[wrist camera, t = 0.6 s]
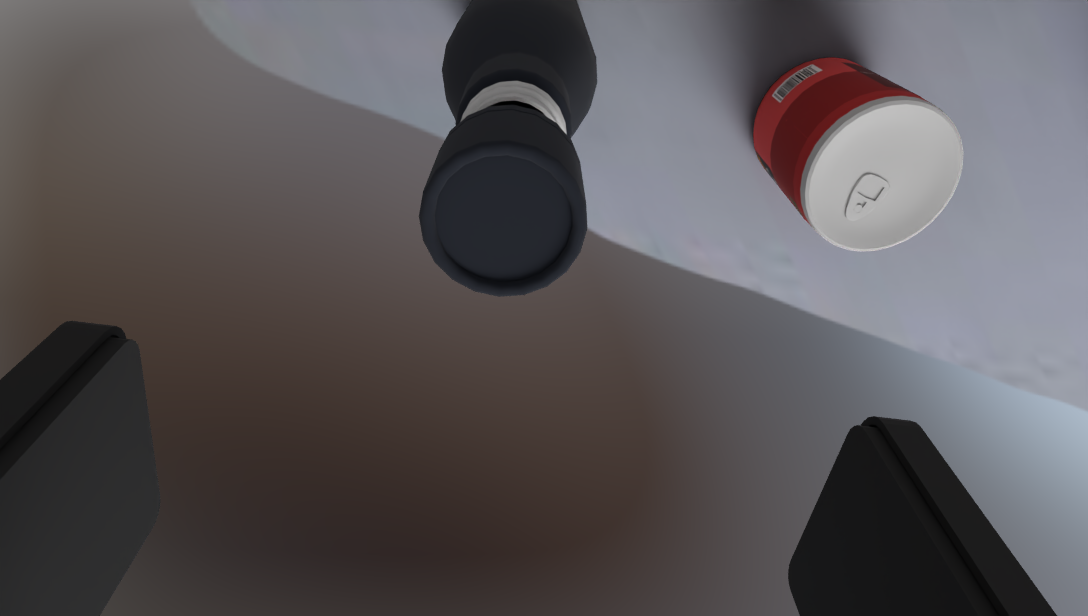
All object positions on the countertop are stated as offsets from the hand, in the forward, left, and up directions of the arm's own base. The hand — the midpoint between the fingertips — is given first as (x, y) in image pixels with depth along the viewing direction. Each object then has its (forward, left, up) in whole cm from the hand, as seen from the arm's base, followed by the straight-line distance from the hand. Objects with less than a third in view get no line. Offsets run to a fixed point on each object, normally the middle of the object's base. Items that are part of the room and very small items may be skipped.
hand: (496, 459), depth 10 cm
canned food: (-18, +3, -38) cm, 42 cm away
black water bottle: (0, 0, -38) cm, 38 cm away
